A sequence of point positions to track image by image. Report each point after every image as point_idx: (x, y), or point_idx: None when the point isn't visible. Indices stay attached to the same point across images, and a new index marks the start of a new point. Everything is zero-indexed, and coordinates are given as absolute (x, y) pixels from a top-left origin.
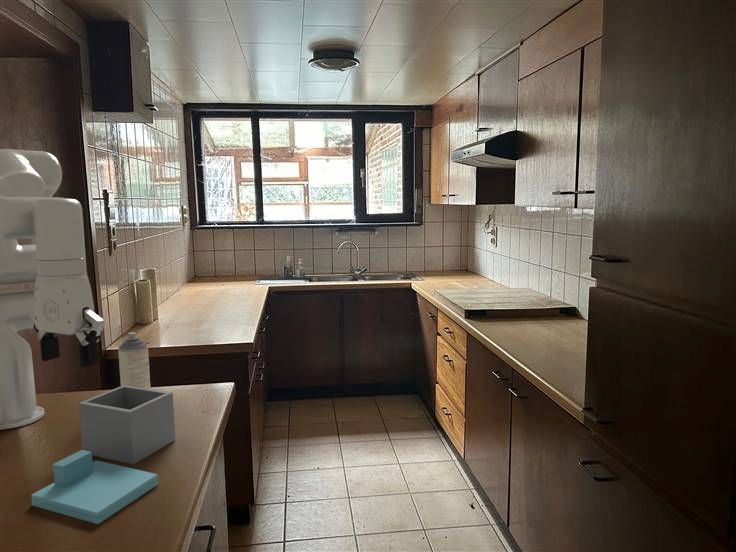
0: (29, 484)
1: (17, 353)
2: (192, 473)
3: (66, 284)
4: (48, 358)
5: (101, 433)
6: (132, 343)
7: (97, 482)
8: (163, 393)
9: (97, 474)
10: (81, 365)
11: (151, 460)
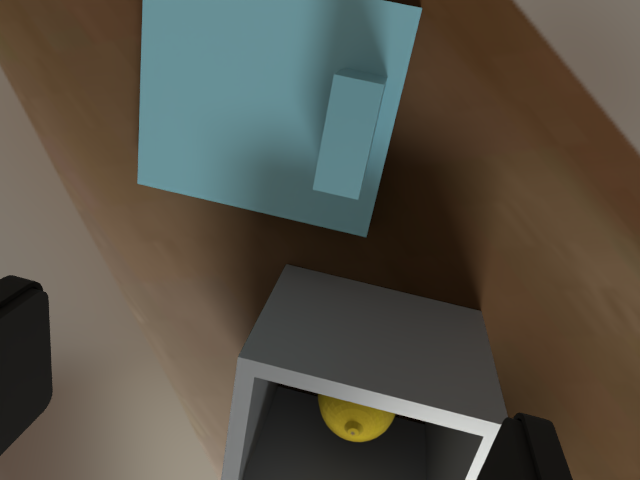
0: (522, 121)
1: None
2: (108, 237)
3: None
4: (498, 450)
5: (396, 333)
6: None
7: (268, 115)
8: None
9: (302, 159)
10: (11, 280)
11: (253, 288)
